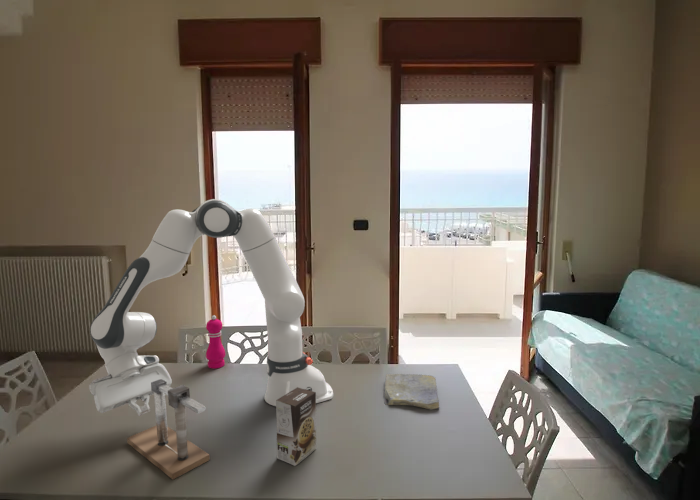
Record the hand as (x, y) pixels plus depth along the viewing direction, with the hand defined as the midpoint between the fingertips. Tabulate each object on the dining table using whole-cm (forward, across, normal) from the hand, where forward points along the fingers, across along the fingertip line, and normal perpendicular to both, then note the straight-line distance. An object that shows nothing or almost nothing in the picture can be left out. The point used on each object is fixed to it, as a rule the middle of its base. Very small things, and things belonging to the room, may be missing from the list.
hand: (144, 412), depth 125 cm
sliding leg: (+17, 0, -10) cm, 19 cm away
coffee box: (+32, +21, -22) cm, 45 cm away
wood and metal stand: (+13, 0, -3) cm, 13 cm away
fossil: (+36, +68, -26) cm, 81 cm away
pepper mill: (-14, +41, +24) cm, 50 cm away
